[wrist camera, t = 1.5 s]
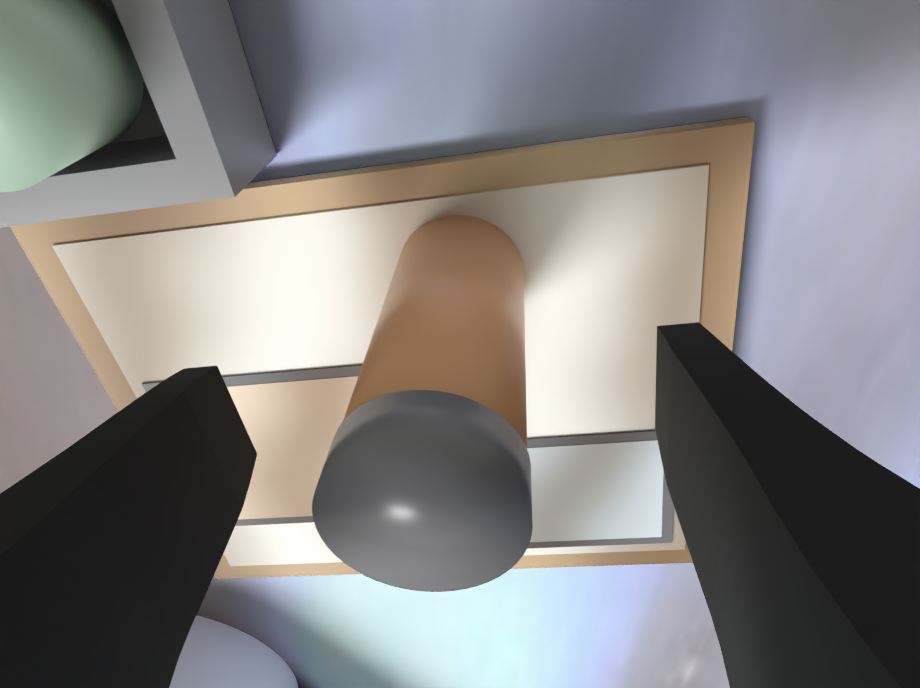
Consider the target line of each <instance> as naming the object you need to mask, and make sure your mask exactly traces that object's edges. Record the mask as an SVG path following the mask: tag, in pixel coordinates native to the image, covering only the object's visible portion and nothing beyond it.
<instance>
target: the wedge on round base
mask: <svg viewBox="0 0 920 688" xmlns="http://www.w3.org/2000/svg"><path fill="white" fill-rule="evenodd" d="M169 688H298V683H297V680H296V678H295V675H294V673H293V672H292V670H291V669H290V667H289V666H288V665H287V663H286V662H285V661H284V660H283V659H282V658H281V657H280V656H279V655H278V654H277V653H275V652H274V651H273V650H272V649H271V648H269V647H268V646H266V645H265V644H263V643H262V642H261V641H259V640H257V639H255V638H254V637H252V636H250V635H248V634H247V633H244V632H242V631H240V630H238V629H236V628H234V627H231V626H229V625H226V624H223V623H221V622H218V621H215V620H211V619H208V618H205V617H201V616H197V615H196V617H195V619H194V621H193V624H192V626H191V628H190V631H189V633H188V636H187V638H186V641H185V643H184V646H183V649H182V651H181V654H180V656H179V659H178V662H177V665H176V668H175V671H174V674H173V677H172V680H171V684H170V687H169Z"/></svg>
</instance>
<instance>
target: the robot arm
mask: <svg viewBox="0 0 920 688" xmlns="http://www.w3.org/2000/svg"><path fill="white" fill-rule="evenodd" d="M655 430H656V435H657V440H658V445H659V450H660V455H661V460H662V465H663V469H664V474H665V479H666V483H667V487H668V490H669V493H670V496H671V499H672V502H673V505H674V508H675V511H676V514H677V517H678V520H679V523H680V526H681V529H682V531H683V534H684V537H685V540H686V543H687V546H688V549H689V552H690V555H691V558H692V561H693V564H694V567H695V570H696V572H697V575H698V578H699V581H700V584H701V587H702V590H703V593H704V596H705V599H706V602H707V605H708V608H709V610H710V613H711V616H712V620H713V623H714V627H715V630H716V633H717V637H718V640H719V644H720V647H721V651H722V655H723V659H724V664H725V668H726V672H727V676H728V680H729V685H730V688H920V489H919V488H917V487H916V486H914V485H913V484H911V483H909V482H908V481H906V480H904V479H903V478H901V477H900V476H898V475H896V474H895V473H893V472H891V471H890V470H888V469H886V468H885V467H883V466H882V465H880V464H878V463H877V462H875V461H874V460H872V459H871V458H869V457H868V456H866V455H865V454H863V453H862V452H860V451H859V450H857V449H856V448H854V447H853V446H851V445H850V444H848V443H847V442H846V441H844V440H843V439H841V438H840V437H839V436H837V435H836V434H834V433H833V432H832V431H830V430H829V429H827V428H826V427H825V426H823V425H822V424H820V423H819V422H818V421H816V420H815V419H813V418H812V417H811V416H809V415H808V414H807V413H805V412H804V411H803V410H802V409H800V408H799V407H798V406H796V405H795V404H794V403H793V402H791V401H790V400H789V399H788V398H786V397H785V396H784V395H783V394H782V393H780V392H779V391H778V390H777V389H775V388H774V387H773V386H772V385H770V384H769V383H768V382H767V381H766V380H764V379H763V378H762V377H761V376H760V375H758V374H757V373H756V372H755V371H754V370H753V369H751V368H750V367H749V366H748V365H747V364H746V363H745V362H743V361H742V360H741V359H740V358H739V357H738V356H737V355H735V354H734V353H733V352H732V351H731V350H730V349H729V348H728V347H726V346H725V345H724V344H723V343H722V342H721V341H720V340H719V339H718V338H716V337H715V336H714V335H713V334H712V333H711V332H710V331H708V330H707V329H706V328H705V327H704V326H703V325H701V324H700V323H699V322H696V323H685V324H674V325H662V326H657V352H656V400H655ZM256 457H257V452H256V450H255V448H254V446H253V443H252V441H251V439H250V437H249V435H248V432H247V430H246V428H245V426H244V424H243V421H242V419H241V417H240V415H239V413H238V411H237V408H236V406H235V404H234V402H233V400H232V397H231V395H230V393H229V391H228V389H227V386H226V384H225V382H224V380H223V378H222V375H221V373H220V371H219V369H218V367H217V366H206V367H195V368H184V369H182V370H180V371H179V372H177V373H175V374H173V375H172V376H170V377H168V378H167V379H165V380H164V381H162V382H161V383H159V384H158V385H156V386H155V387H153V388H152V389H150V390H149V391H147V392H146V393H144V394H143V395H142V396H140V397H139V398H137V399H136V400H135V401H133V402H132V403H130V404H129V405H128V406H126V407H125V408H123V409H122V410H121V411H119V412H118V413H116V414H115V415H114V416H112V417H111V418H109V419H108V420H107V421H105V422H104V423H102V424H101V425H100V426H98V427H97V428H95V429H94V430H93V431H91V432H90V433H88V434H87V435H86V436H84V437H83V438H81V439H80V440H79V441H77V442H76V443H74V444H73V445H72V446H70V447H69V448H67V449H66V450H65V451H63V452H62V453H60V454H59V455H57V456H56V457H54V458H53V459H51V460H50V461H48V462H47V463H45V464H44V465H42V466H41V467H39V468H38V469H36V470H35V471H33V472H32V473H30V474H29V475H28V476H26V477H25V478H23V479H22V480H20V481H19V482H17V483H16V484H14V485H13V486H11V487H10V488H8V489H7V490H5V491H4V492H2V493H1V494H0V688H169V687H170V684H171V680H172V677H173V674H174V671H175V668H176V665H177V662H178V659H179V656H180V654H181V651H182V649H183V646H184V643H185V641H186V638H187V636H188V633H189V631H190V628H191V626H192V624H193V621H194V619H195V617H196V615H197V612H198V610H199V608H200V605H201V603H202V601H203V599H204V596H205V594H206V592H207V590H208V587H209V585H210V583H211V580H212V578H213V576H214V574H215V571H216V569H217V567H218V565H219V562H220V560H221V558H222V555H223V553H224V551H225V549H226V546H227V544H228V542H229V539H230V537H231V535H232V532H233V530H234V528H235V525H236V523H237V521H238V518H239V516H240V513H241V511H242V508H243V505H244V502H245V499H246V495H247V492H248V488H249V485H250V481H251V477H252V473H253V469H254V465H255V461H256Z"/></svg>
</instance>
